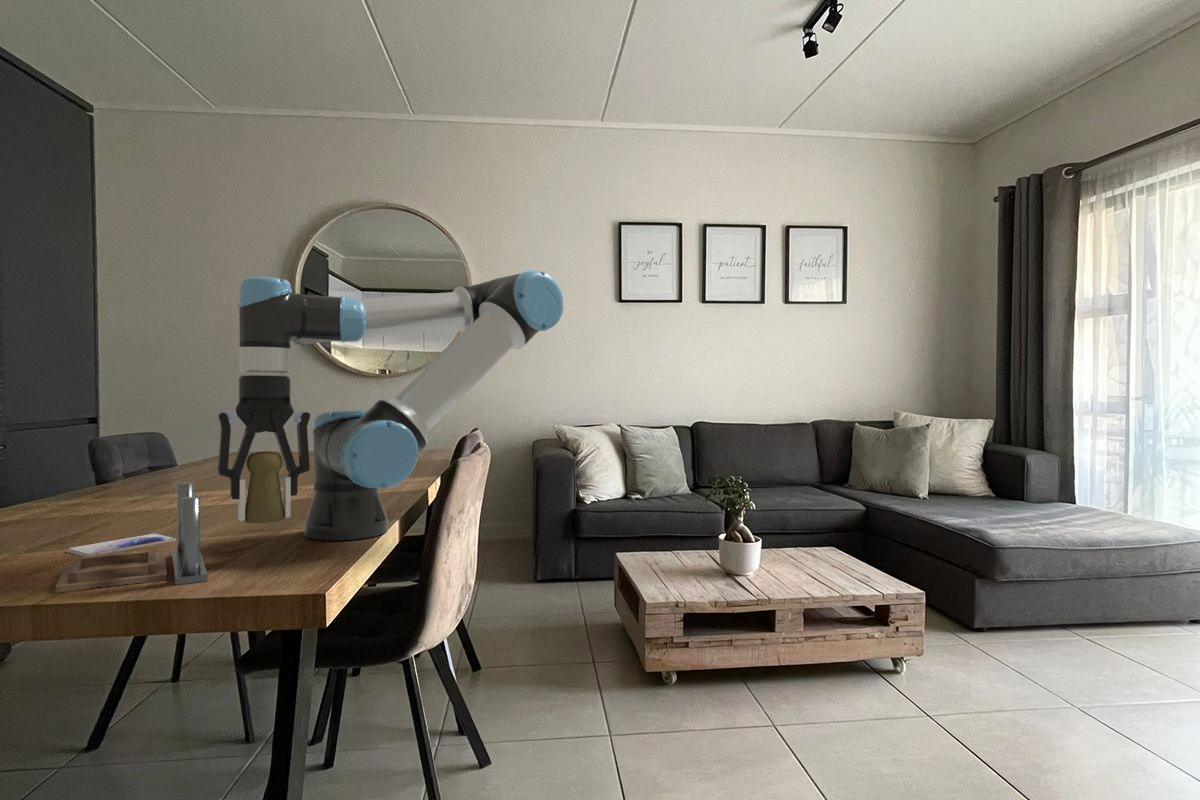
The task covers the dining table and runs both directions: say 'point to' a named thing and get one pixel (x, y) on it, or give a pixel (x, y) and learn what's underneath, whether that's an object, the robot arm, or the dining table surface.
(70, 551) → the smartphone
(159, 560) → the end holder
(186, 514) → the clip
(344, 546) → the dining table surface
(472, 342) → the robot arm
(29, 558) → the dining table surface
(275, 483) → the cork
